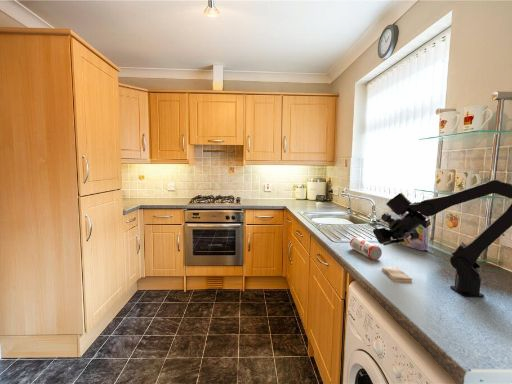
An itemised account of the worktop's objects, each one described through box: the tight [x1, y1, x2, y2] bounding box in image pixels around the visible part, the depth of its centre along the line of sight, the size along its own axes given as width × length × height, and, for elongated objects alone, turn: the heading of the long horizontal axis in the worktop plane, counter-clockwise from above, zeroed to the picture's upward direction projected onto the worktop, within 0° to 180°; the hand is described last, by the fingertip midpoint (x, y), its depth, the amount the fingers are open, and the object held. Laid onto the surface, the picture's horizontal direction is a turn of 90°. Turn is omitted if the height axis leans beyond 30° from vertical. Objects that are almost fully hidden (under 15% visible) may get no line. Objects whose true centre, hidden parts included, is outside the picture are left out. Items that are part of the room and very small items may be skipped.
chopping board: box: [381, 266, 413, 283], centre depth 99 cm, size 10×6×1 cm, turn 179°
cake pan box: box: [389, 209, 430, 251], centre depth 135 cm, size 19×5×18 cm, turn 23°
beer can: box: [349, 237, 383, 261], centre depth 121 cm, size 6×6×16 cm
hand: (383, 244), depth 110 cm, fingers closed
